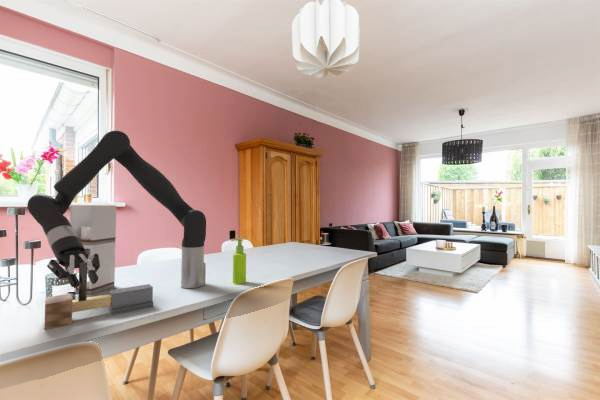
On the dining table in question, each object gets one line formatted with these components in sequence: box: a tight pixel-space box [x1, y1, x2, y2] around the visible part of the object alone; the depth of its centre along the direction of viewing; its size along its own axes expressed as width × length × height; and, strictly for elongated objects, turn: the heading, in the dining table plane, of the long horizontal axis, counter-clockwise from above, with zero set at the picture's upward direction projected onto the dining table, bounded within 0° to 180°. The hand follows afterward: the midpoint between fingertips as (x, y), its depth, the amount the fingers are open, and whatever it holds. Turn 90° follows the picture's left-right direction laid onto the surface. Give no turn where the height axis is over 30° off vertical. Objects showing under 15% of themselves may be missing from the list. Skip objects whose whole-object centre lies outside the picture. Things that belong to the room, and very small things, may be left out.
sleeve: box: [108, 283, 154, 316], centre depth 97 cm, size 12×7×6 cm, turn 131°
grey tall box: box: [69, 204, 117, 295], centre depth 119 cm, size 11×11×35 cm
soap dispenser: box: [230, 238, 247, 285], centre depth 131 cm, size 6×7×20 cm
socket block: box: [43, 293, 73, 330], centre depth 85 cm, size 6×8×7 cm
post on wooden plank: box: [72, 262, 112, 314], centre depth 90 cm, size 18×3×14 cm, turn 131°
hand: (86, 283), depth 88 cm, fingers open, 4 cm apart
